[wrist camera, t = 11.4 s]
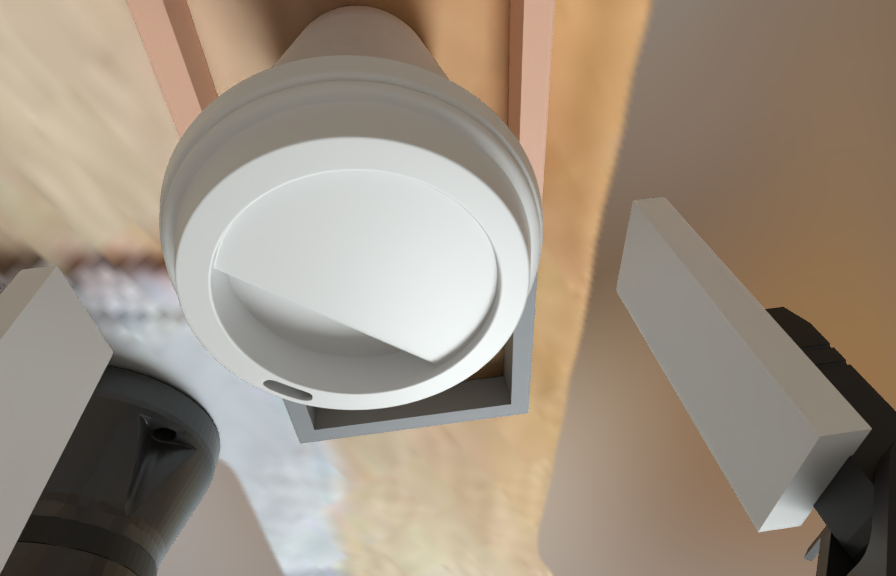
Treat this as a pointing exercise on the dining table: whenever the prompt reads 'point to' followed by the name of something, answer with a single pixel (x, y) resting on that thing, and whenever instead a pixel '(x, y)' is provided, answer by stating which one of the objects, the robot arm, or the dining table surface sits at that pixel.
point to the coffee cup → (351, 221)
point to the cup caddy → (530, 49)
